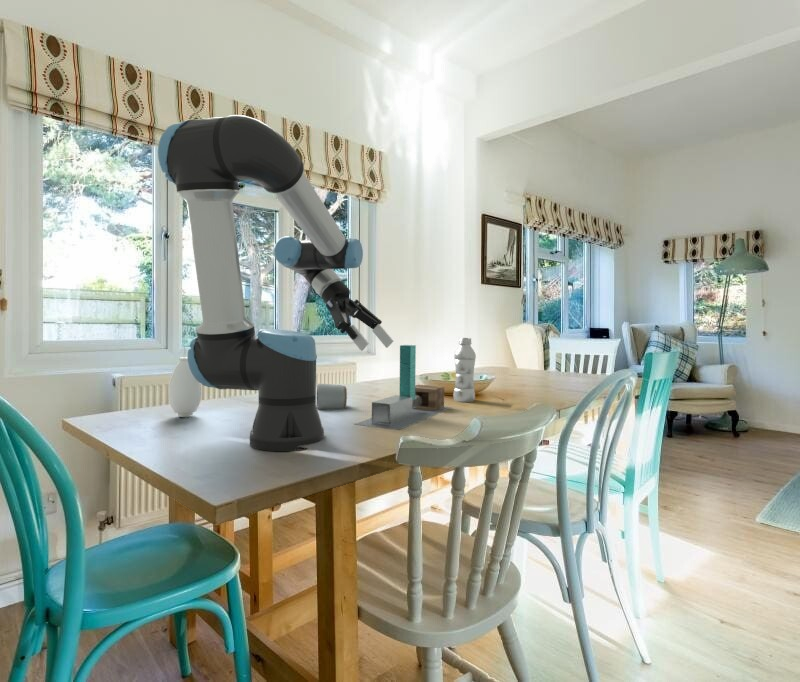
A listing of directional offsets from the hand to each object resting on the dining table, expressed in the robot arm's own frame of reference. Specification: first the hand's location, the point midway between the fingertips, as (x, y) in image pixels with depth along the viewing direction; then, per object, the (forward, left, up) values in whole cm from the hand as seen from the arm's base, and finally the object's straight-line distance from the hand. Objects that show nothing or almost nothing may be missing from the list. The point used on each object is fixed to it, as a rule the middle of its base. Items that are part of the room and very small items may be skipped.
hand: (378, 345), depth 135 cm
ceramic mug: (0, +15, -19) cm, 24 cm away
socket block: (+11, -9, -18) cm, 23 cm away
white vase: (-27, +42, -19) cm, 53 cm away
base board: (-1, -9, -19) cm, 21 cm away
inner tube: (-3, -9, -16) cm, 19 cm away
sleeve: (-9, -9, -18) cm, 22 cm away
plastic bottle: (+28, -14, -19) cm, 37 cm away
